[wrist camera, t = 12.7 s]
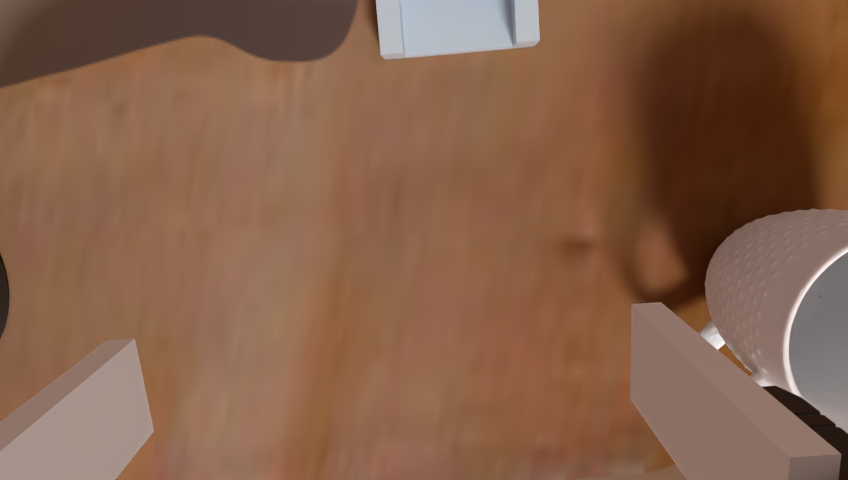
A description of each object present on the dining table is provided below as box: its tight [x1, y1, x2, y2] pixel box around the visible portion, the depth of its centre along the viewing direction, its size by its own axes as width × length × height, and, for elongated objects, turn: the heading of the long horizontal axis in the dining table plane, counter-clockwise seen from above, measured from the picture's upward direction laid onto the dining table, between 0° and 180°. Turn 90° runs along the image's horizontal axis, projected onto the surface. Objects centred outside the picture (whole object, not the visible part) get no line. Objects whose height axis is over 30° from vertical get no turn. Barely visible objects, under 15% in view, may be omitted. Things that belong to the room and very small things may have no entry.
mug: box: [698, 209, 848, 433], centre depth 33 cm, size 15×11×13 cm
